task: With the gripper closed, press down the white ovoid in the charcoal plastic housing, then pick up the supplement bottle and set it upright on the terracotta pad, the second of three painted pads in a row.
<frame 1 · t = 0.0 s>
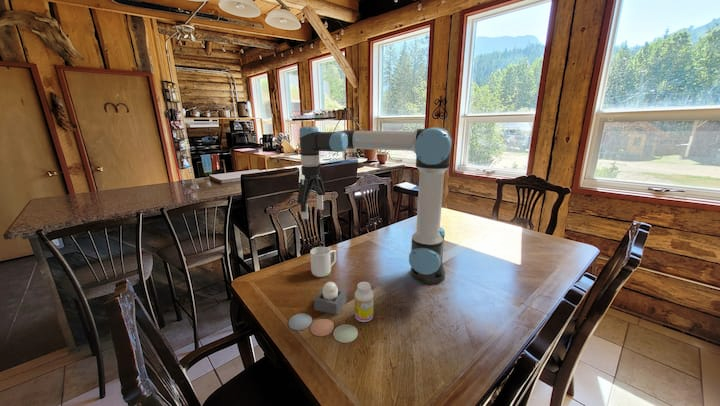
hand: (313, 213, 124), 28 cm above the table, fingers open, 13 cm apart
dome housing: (330, 305, 108), on the table
white ovoid: (330, 290, 106), point 6 cm above the table, slide at 0.0 cm
mug: (324, 272, 131), on the table
pad 3: (300, 322, 99), on the table
pad 1: (345, 333, 94), on the table
pad 2: (322, 327, 96), on the table
supplement bottle: (364, 317, 102), on the table
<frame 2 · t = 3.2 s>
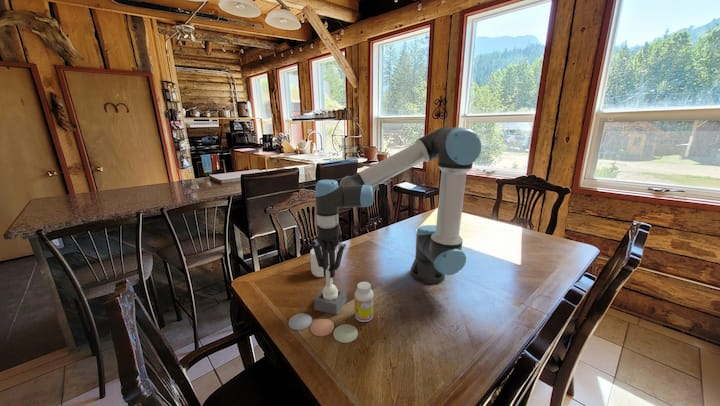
hand: (329, 284, 105), 9 cm above the table, fingers closed
white ovoid: (330, 292, 106), point 5 cm above the table, slide at 0.8 cm, touching gripper
everything else where it was.
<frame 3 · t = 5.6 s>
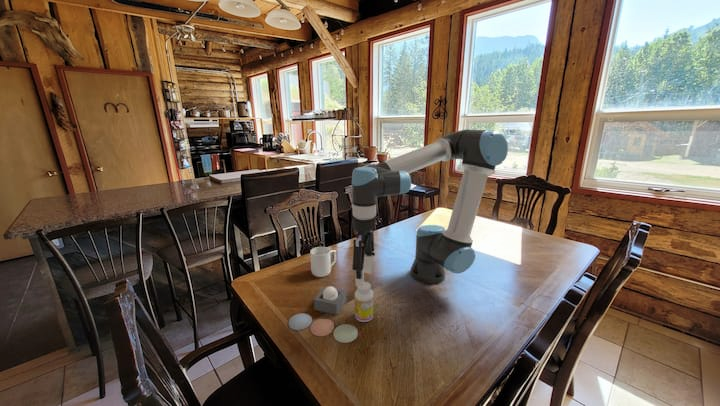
hand: (364, 278, 97), 15 cm above the table, fingers open, 8 cm apart
white ovoid: (330, 295, 107), point 4 cm above the table, slide at 2.0 cm
everything else where it was.
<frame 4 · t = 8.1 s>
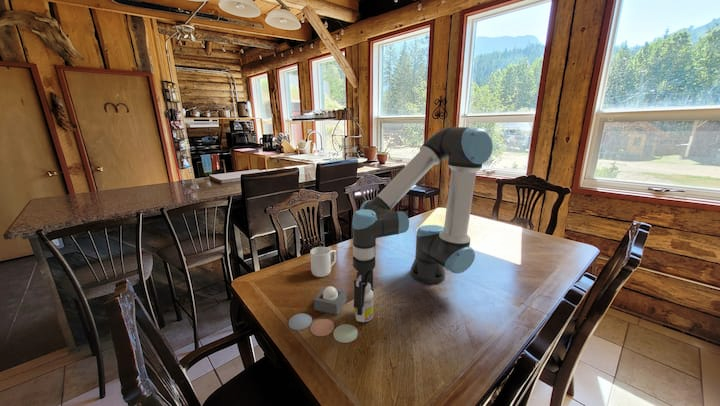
hand: (364, 314, 101), 1 cm above the table, fingers closed on supplement bottle, 7 cm apart
supplement bottle: (364, 317, 102), on the table, touching gripper
everything else where it was.
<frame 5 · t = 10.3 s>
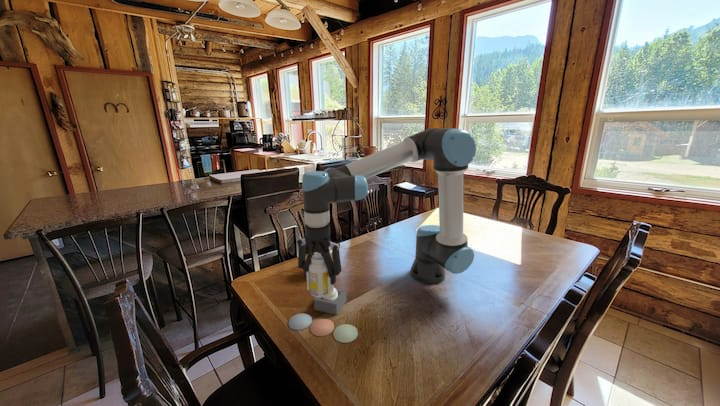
hand: (320, 289, 92), 15 cm above the table, fingers closed on supplement bottle, 7 cm apart
supplement bottle: (320, 293, 93), point 14 cm above the table, touching gripper
everything else where it was.
when the fingers open (3 cm above the table, at t = 12.7 s): supplement bottle drops 1 cm, resting on pad 2.
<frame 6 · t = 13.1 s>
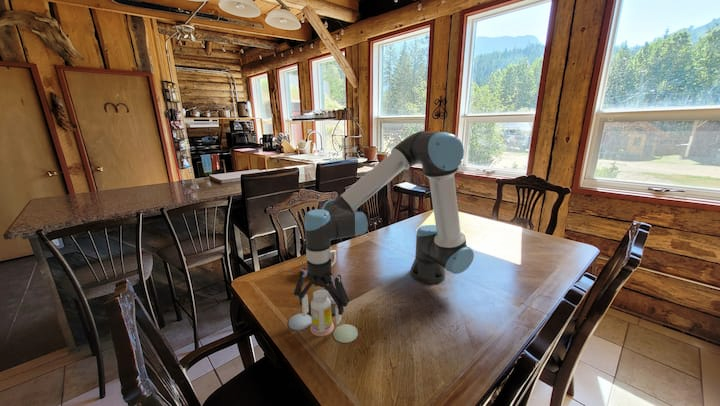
hand: (321, 317, 95), 4 cm above the table, fingers open, 11 cm apart
supplement bottle: (322, 326, 96), resting on pad 2
everything else where it was.
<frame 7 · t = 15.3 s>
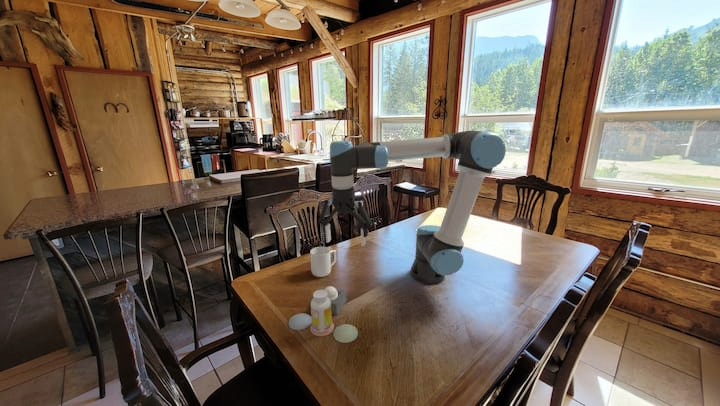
hand: (345, 243, 105), 24 cm above the table, fingers open, 13 cm apart
nothing on the table moved.
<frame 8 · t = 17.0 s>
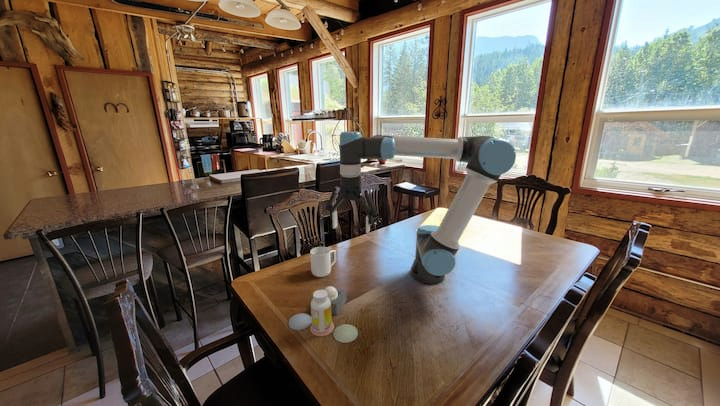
hand: (351, 229, 110), 27 cm above the table, fingers open, 13 cm apart
nothing on the table moved.
at the end: white ovoid slide at 2.0 cm; supplement bottle 0.2 cm from the pad 2 (horizontally); supplement bottle tilted 0° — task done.
